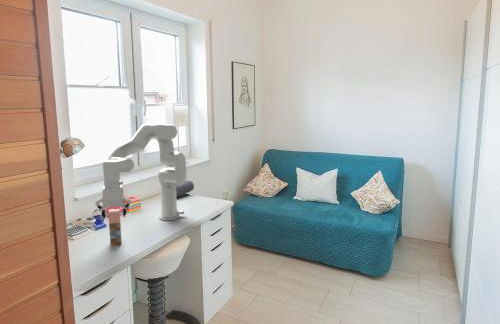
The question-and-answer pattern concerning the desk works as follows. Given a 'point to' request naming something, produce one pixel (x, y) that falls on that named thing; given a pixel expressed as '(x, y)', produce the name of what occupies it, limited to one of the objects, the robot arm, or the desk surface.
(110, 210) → the terracotta cube
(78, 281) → the desk surface
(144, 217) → the desk surface
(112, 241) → the tower
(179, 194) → the bluetooth speaker
